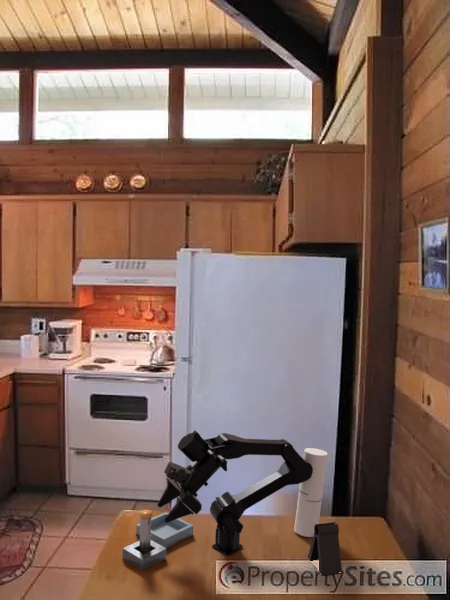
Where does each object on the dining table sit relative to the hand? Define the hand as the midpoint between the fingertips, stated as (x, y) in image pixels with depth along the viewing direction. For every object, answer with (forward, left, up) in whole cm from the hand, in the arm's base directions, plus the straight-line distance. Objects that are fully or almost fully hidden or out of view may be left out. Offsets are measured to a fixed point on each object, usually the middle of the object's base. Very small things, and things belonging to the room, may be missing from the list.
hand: (161, 513), depth 155 cm
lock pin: (+2, +4, -12) cm, 13 cm away
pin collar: (+2, +4, -12) cm, 13 cm away
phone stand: (-35, -29, -13) cm, 47 cm away
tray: (+8, -9, -12) cm, 17 cm away
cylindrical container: (-21, -41, -12) cm, 48 cm away
